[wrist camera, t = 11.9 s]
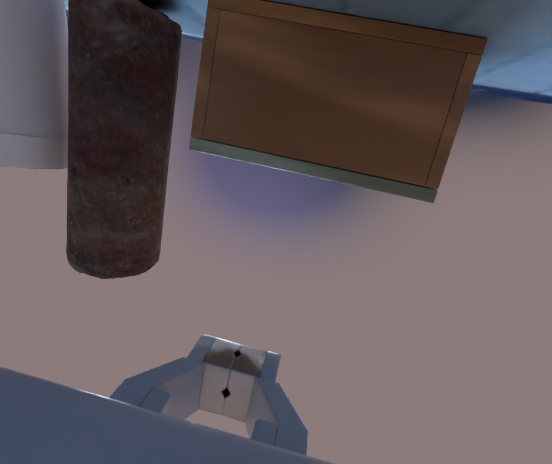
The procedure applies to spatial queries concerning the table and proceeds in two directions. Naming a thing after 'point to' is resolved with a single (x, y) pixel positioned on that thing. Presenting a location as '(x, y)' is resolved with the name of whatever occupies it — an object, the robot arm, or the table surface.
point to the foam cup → (33, 84)
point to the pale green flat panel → (314, 169)
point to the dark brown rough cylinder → (118, 133)
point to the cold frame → (333, 88)
